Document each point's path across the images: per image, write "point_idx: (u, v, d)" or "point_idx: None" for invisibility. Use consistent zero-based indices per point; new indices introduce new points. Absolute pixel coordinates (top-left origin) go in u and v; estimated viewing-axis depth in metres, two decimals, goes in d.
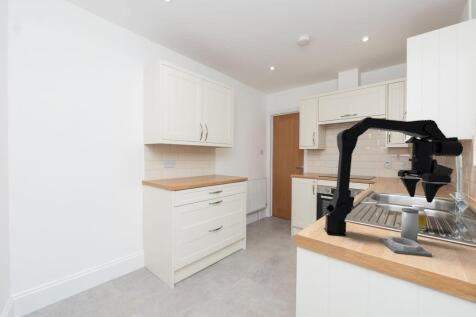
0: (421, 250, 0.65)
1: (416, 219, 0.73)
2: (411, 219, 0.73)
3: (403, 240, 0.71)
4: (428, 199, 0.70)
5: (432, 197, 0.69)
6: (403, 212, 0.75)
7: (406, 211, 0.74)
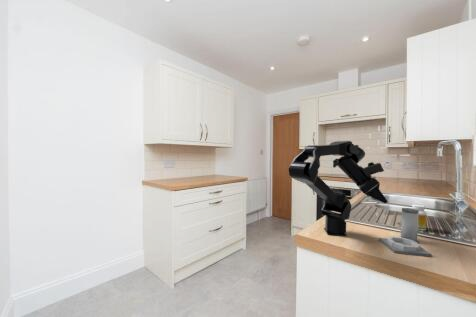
0: (421, 250, 0.65)
1: (416, 219, 0.73)
2: (411, 219, 0.73)
3: (403, 240, 0.71)
4: (382, 201, 0.74)
5: (383, 198, 0.74)
6: (403, 212, 0.75)
7: (406, 211, 0.74)
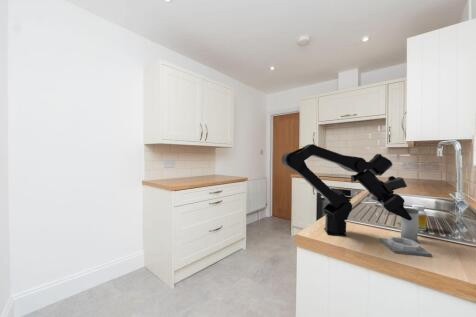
0: (421, 250, 0.65)
1: (416, 219, 0.73)
2: None
3: (403, 240, 0.71)
4: (407, 218, 0.71)
5: (407, 215, 0.71)
6: None
7: None
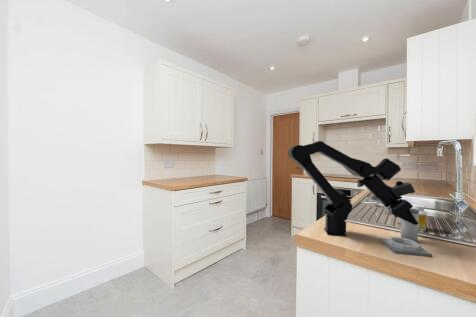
0: (421, 250, 0.65)
1: (416, 219, 0.73)
2: None
3: (403, 240, 0.71)
4: (413, 223, 0.72)
5: (414, 219, 0.72)
6: None
7: None
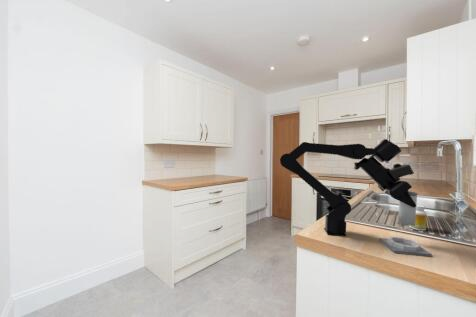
0: (421, 250, 0.65)
1: (414, 201, 0.70)
2: None
3: (403, 240, 0.71)
4: (411, 205, 0.69)
5: (412, 202, 0.69)
6: None
7: None
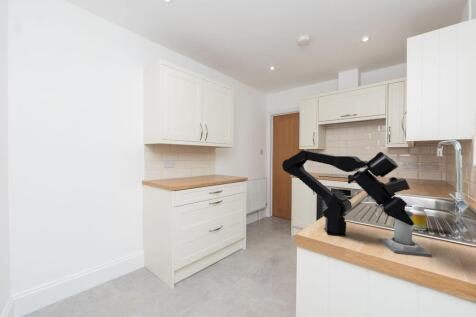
0: (421, 250, 0.65)
1: None
2: (405, 223, 0.66)
3: None
4: (408, 223, 0.65)
5: (409, 220, 0.64)
6: None
7: None
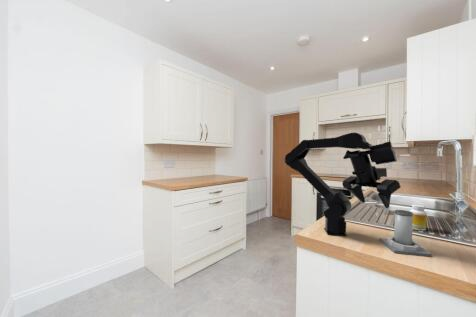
0: (421, 250, 0.65)
1: (410, 222, 0.66)
2: (405, 223, 0.66)
3: None
4: (387, 206, 0.72)
5: (388, 202, 0.72)
6: (396, 215, 0.68)
7: (399, 214, 0.67)
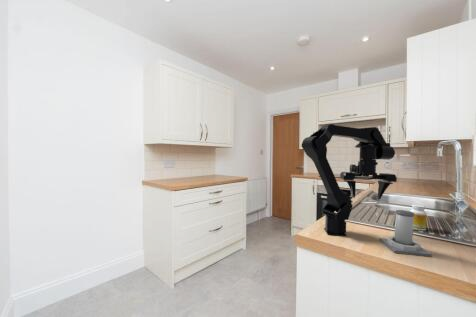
0: (421, 250, 0.65)
1: (411, 223, 0.66)
2: (406, 223, 0.66)
3: None
4: None
5: None
6: (397, 215, 0.68)
7: (401, 214, 0.67)
